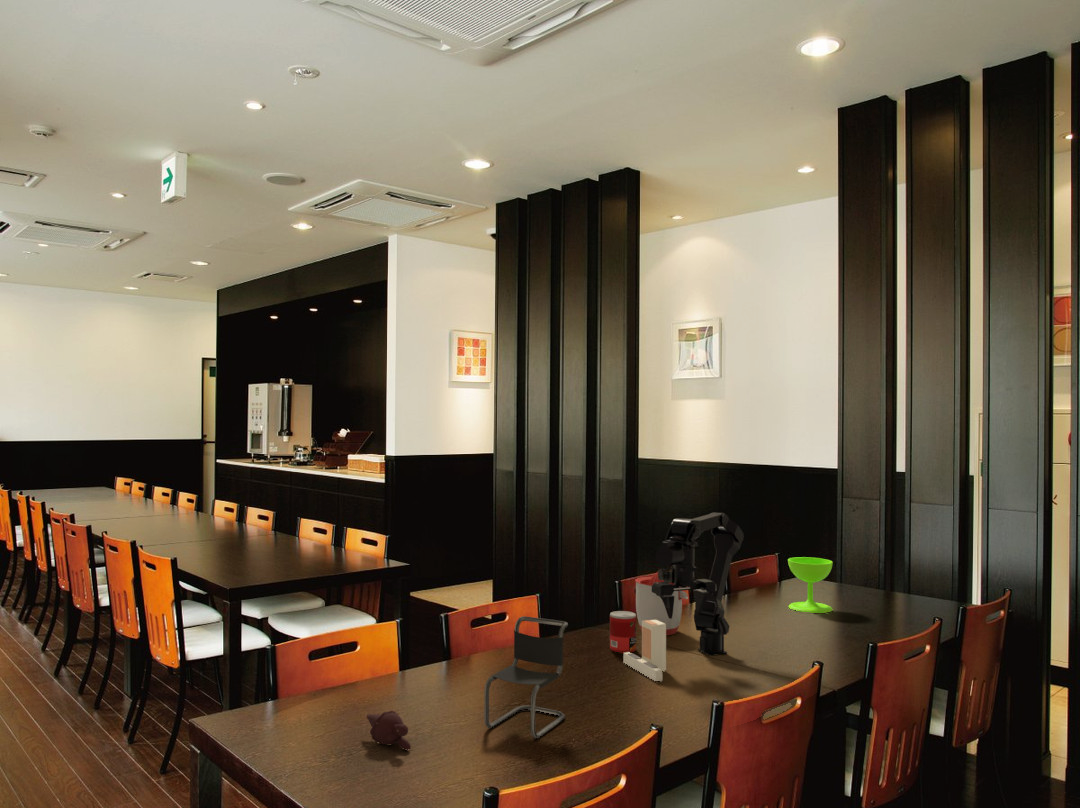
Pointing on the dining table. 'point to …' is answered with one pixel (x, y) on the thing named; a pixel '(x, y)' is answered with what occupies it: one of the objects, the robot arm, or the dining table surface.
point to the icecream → (388, 729)
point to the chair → (536, 652)
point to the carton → (654, 643)
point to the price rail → (643, 666)
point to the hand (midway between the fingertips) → (683, 617)
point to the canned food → (623, 631)
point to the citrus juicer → (657, 604)
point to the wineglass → (810, 581)
